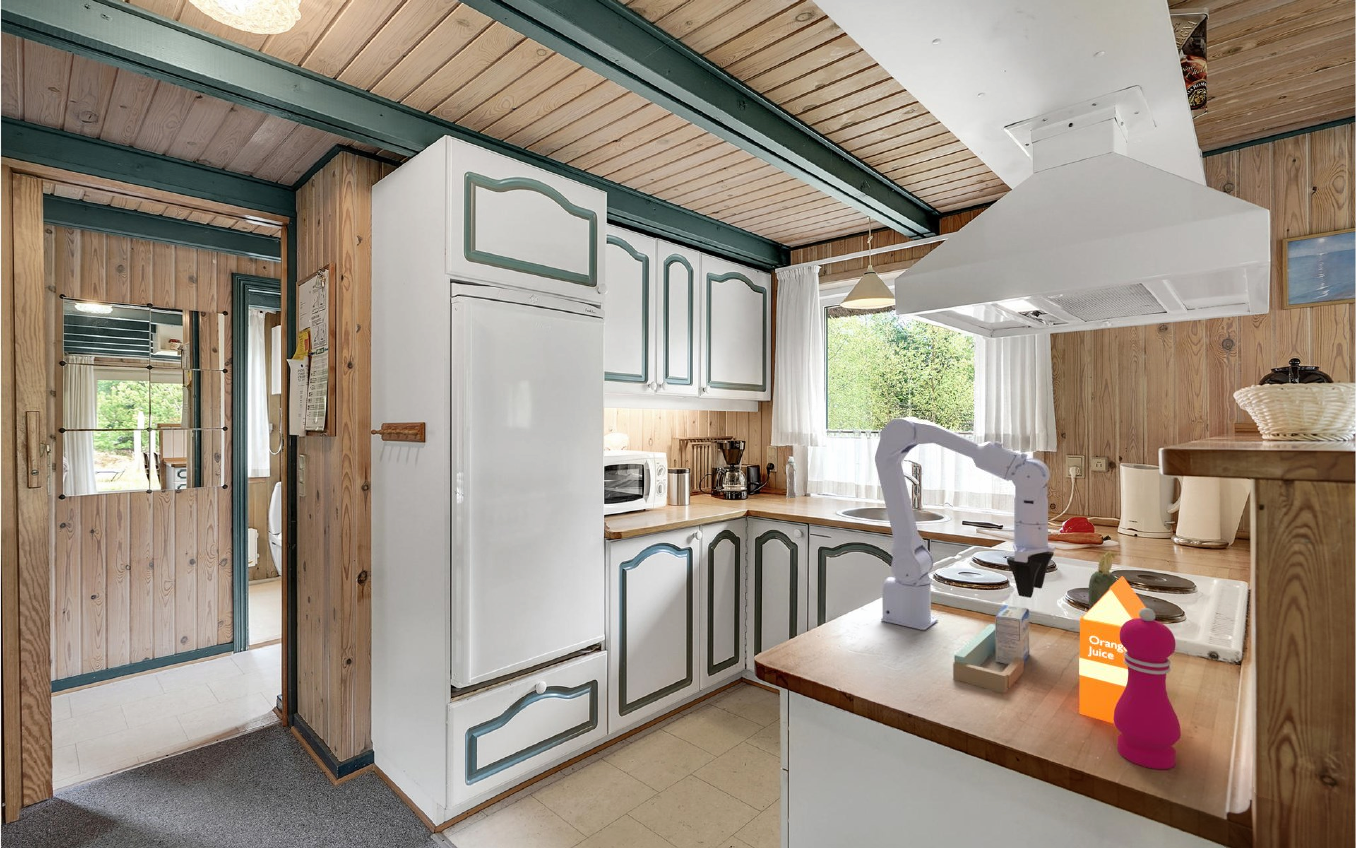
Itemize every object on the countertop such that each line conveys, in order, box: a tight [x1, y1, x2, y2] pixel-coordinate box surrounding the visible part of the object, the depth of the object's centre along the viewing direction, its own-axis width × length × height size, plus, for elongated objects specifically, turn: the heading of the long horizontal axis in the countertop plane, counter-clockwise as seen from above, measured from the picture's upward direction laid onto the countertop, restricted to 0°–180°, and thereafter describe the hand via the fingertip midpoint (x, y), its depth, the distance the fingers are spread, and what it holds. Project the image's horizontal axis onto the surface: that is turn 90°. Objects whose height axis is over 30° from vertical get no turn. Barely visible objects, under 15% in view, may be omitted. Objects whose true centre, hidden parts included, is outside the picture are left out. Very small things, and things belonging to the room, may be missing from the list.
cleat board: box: [952, 623, 1025, 694], centre depth 114 cm, size 8×21×4 cm, turn 138°
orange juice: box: [1078, 575, 1147, 724], centre depth 97 cm, size 8×9×20 cm
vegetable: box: [1088, 550, 1118, 611], centre depth 117 cm, size 4×4×20 cm
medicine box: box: [994, 604, 1030, 665], centre depth 118 cm, size 8×4×9 cm, turn 143°
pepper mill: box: [1113, 607, 1182, 770], centre depth 85 cm, size 7×7×20 cm
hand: (1030, 591), depth 124 cm, fingers open, 7 cm apart
